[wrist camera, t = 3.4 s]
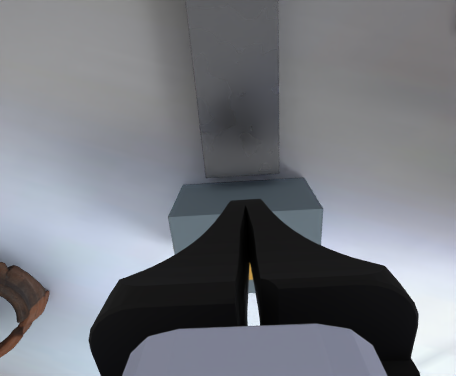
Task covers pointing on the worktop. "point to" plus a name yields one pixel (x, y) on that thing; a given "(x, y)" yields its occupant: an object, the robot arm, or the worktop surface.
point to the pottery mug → (21, 301)
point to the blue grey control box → (227, 191)
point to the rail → (236, 84)
